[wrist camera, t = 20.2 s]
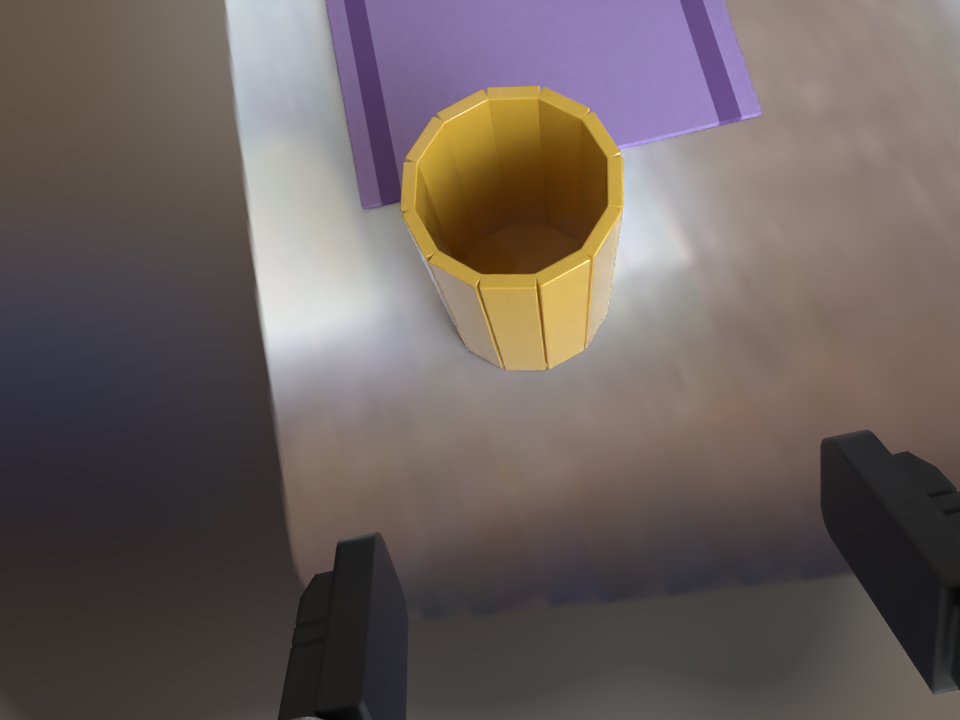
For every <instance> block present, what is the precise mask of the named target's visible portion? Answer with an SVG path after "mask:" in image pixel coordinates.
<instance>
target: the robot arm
mask: <svg viewBox="0 0 960 720" xmlns="http://www.w3.org/2000/svg"><path fill="white" fill-rule="evenodd" d="M821 509H822V515H823V519H824V522H825V525H826V528H827V530H828V533H829V535H830V537H831V538H832V540H833V542H834V543H835V545H836V546H837V548H838V549H839V551H840V552H841V554H842V555H843V557H844V559H845V560H846V562H847V563H848V565H849V566H850V568H851V569H852V571H853V572H854V574H855V575H856V577H857V578H858V580H859V581H860V583H861V584H862V586H863V587H864V589H865V591H866V592H867V593H868V595H869V596H870V598H871V600H872V601H873V602H874V604H875V606H876V607H877V609H878V610H879V612H880V613H881V615H882V616H883V618H884V619H885V621H886V622H887V624H888V626H889V627H890V628H891V630H892V632H893V633H894V635H895V636H896V638H897V639H898V641H899V642H900V644H901V645H902V647H903V648H904V650H905V651H906V653H907V655H908V656H909V658H910V659H911V661H912V662H913V664H914V665H915V667H916V668H917V670H918V671H919V673H920V674H921V676H922V677H923V679H924V680H925V682H926V683H927V685H928V686H929V688H930V690H931V691H932V693H933V694H939V693H944V692H949V691H954V690H960V492H957V491H956V488H955V486H954V485H953V484H952V483H951V482H950V481H949V480H948V479H947V478H946V477H945V476H944V475H943V474H942V473H941V471H940V470H939V469H938V468H937V467H935V466H934V465H932V464H930V463H928V462H926V461H924V460H922V459H921V458H919V457H917V456H915V455H913V454H911V453H909V452H908V451H907V452H902V453H897V454H891V453H890V452H889V451H888V450H887V448H886V447H885V446H884V445H883V444H882V443H881V442H880V440H879V439H878V438H877V437H876V436H875V435H874V434H873V433H872V432H871V431H869V430H862V431H857V432H852V433H847V434H843V435H838V436H833V437H829V438H825V439H823V440H822V443H821ZM407 654H408V614H407V607H406V602H405V597H404V593H403V590H402V587H401V585H400V582H399V579H398V577H397V574H396V571H395V569H394V566H393V563H392V561H391V558H390V555H389V553H388V550H387V547H386V545H385V542H384V540H383V537H382V535H381V534H380V533H379V532H376V533H371V534H366V535H362V536H357V537H352V538H347V539H343V540H339V541H338V544H337V548H336V555H335V562H334V569H333V571H330V572H325V573H320V574H316V575H315V576H314V577H313V579H312V580H311V582H310V584H309V585H308V587H307V588H306V590H305V591H304V593H303V595H302V597H301V598H300V601H299V607H298V612H297V618H296V628H295V629H294V634H293V639H292V648H291V651H290V657H289V661H288V667H287V672H286V678H285V683H284V689H283V695H282V700H281V705H280V711H279V716H278V720H406V700H407V698H406V697H407V656H408V655H407Z"/></svg>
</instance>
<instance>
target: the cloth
mask: <svg viewBox="0 0 960 720" xmlns="http://www.w3.org/2000/svg"><path fill="white" fill-rule="evenodd" d="M326 5H327V11H328V16H329V22H330V28H331V33H332V39H333V45H334V50H335V56H336V62H337V67H338V73H339V79H340V84H341V90H342V96H343V101H344V107H345V113H346V118H347V124H348V130H349V135H350V141H351V147H352V152H353V158H354V164H355V169H356V175H357V181H358V186H359V192H360V198H361V203H362V207H363V209H364V210H365V209H370V208H374V207H378V206H382V205H387V204H391V203H395V202H399V201H401V188H402V172H403V162H406V159H405V157H406V155H407V154H408V152H409V151H410V149H411V148H412V146H413V145H414V143H415V142H416V140H417V139H418V138H419V136H420V135H421V133H422V132H423V130H424V129H425V127H426V126H427V124H428V123H429V121H430V120H431V119H432V117H433V116H434V117H436V118H438V117H437V113H438V112H439V111H441V110H443V109H445V108H447V107H449V106H451V105H452V104H454V103H456V102H458V101H460V100H462V99H464V98H466V97H467V96H469V95H471V94H473V93H475V92H477V91H479V90H480V89H483V90H484V91H485V92H486V90H487V87H507V86H536V85H538V86H540V91H541V90H542V88H543V87H546V88H549V89H551V90H553V91H555V92H557V93H559V94H561V95H563V96H565V97H567V98H570V99H572V100H574V101H576V102H578V103H580V104H582V105H584V106H586V107H588V108H590V113H591V112H594V113H595V114H596V116H597V117H598V119H599V120H600V122H601V123H602V125H603V126H604V127H605V129H606V130H607V132H608V133H609V135H610V136H611V138H612V139H613V141H614V142H615V144H616V145H617V147H618V148H619V149H622V148H627V147H631V146H635V145H639V144H643V143H648V142H652V141H656V140H660V139H664V138H669V137H673V136H677V135H681V134H686V133H690V132H694V131H698V130H702V129H707V128H711V127H715V126H719V125H723V124H728V123H732V122H736V121H740V120H744V119H749V118H753V117H757V116H760V115H761V109H760V106H759V103H758V100H757V97H756V94H755V91H754V88H753V85H752V82H751V80H750V77H749V74H748V71H747V68H746V65H745V62H744V59H743V56H742V53H741V50H740V48H739V45H738V42H737V39H736V36H735V33H734V30H733V27H732V24H731V21H730V18H729V15H728V13H727V10H726V7H725V4H724V1H723V0H326Z"/></svg>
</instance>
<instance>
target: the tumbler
mask: <svg viewBox="0 0 960 720" xmlns="http://www.w3.org/2000/svg"><path fill="white" fill-rule="evenodd" d="M437 117H438V118H436V117H434V116H433V117H432V119H431V120H430V121H429V123H428V124H427V126H426V127H425V129H424V130H423V132H422V133H421V135H420V136H419V138H418V139H417V140H416V142H415V143H414V145H413V146H412V148H411V149H410V151H409V152H408V154H407V155H406V157H405V159H406V162H403V172H402V188H401V203H400V211H401V213H402V215H401V216H402V219H403V221H404V223H405V225H406V227H407V229H408V231H409V233H410V235H411V237H412V239H413V242H414V244H415V246H416V248H417V250H418V252H419V254H420V256H421V258H422V260H423V262H424V265H425V267H426V269H427V271H428V273H429V275H430V277H431V279H432V281H433V283H434V285H435V287H436V290H437V292H438V294H439V296H440V298H441V300H442V302H443V304H444V306H445V308H446V310H447V313H448V315H449V317H450V318H451V320H452V322H453V324H454V326H455V327H456V329H457V331H458V333H459V335H460V337H461V338H462V340H463V342H464V344H465V346H466V347H468V348H469V350H470V351H472V352H473V353H475V354H477V355H479V356H480V357H482V358H484V359H486V360H487V361H489V362H491V363H492V364H494V365H496V366H498V367H499V368H501V369H503V368H504V367H505V369H506V370H546V368H547V367H548V369H551V368H553V367H555V366H557V365H559V364H560V363H562V362H564V361H566V360H568V359H570V358H571V357H573V356H575V355H577V354H579V353H580V352H582V351H584V347H585V348H587V347H588V345H589V344H590V342H591V340H592V339H593V337H594V335H595V334H596V332H597V330H598V329H599V327H600V326H601V324H602V322H603V321H604V319H605V317H606V315H607V311H608V306H609V299H610V293H611V286H612V279H613V273H614V266H615V259H616V253H617V246H618V239H619V233H620V226H621V219H622V213H623V158H622V157H621V151H620V150H619V148H618V147H617V145H616V144H615V142H614V141H613V139H612V138H611V136H610V135H609V133H608V132H607V130H606V129H605V127H604V126H603V125H602V123H601V122H600V120H599V119H598V117H597V116H596V114H595V113H594V112H591V113H590V108H588V107H586V106H584V105H582V104H580V103H578V102H576V101H574V100H572V99H570V98H567V97H565V96H563V95H561V94H559V93H557V92H555V91H553V90H551V89H549V88H546V87H543V88H542V90H541V91H540V86H538V85H536V86H507V87H487V90H486V92H485V91H484V90H483V89H480V90H479V91H477V92H475V93H473V94H471V95H469V96H467V97H466V98H464V99H462V100H460V101H458V102H456V103H454V104H452V105H451V106H449V107H447V108H445V109H443V110H441V111H439V112H438V113H437Z"/></svg>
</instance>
